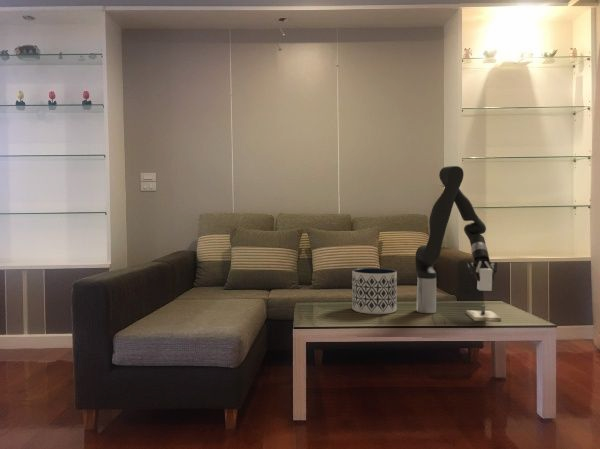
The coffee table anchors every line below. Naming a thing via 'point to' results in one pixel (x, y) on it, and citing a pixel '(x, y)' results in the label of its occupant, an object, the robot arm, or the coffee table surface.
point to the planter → (374, 290)
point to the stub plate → (483, 315)
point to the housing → (485, 279)
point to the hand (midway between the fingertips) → (485, 280)
